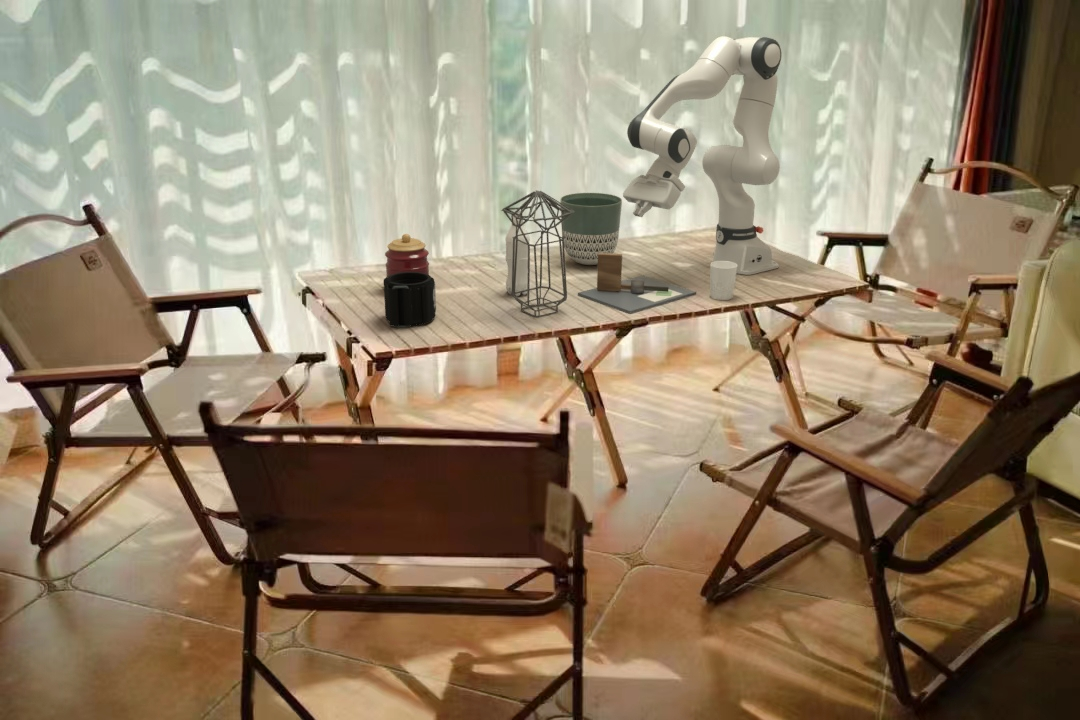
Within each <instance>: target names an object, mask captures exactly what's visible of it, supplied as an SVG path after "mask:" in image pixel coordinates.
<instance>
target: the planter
mask: <svg viewBox="0 0 1080 720" xmlns="http://www.w3.org/2000/svg"><path fill="white" fill-rule="evenodd" d="M560 203H562V204H564V205H565V206H567V207H569V208H570V209H572V210H573V211H574V213H572V214H571V215H570V216H569V217H567V218H566V219H565V220H564V221H562V223H563V234H564V251H565V252H566V254H567V255H568V256H569V258H570V259H571V260H573V261H574V262H576V263H578V264H580V265H584V266H596V265H597V266H598V253H613V254H615V251H616V248H617V245H618V242H619V236H620V235H619V234H620V229H621V228H620V226H621V215H622V203H623V199H622V198H621V197H620V196H617V195H614V194H609V193H603V192H602V193H601V192H577V193H570V194H565V195H564V196H562V197H560ZM562 204H561V205H562ZM562 206H563V205H562ZM565 206H564V207H565ZM565 208H566V207H565ZM562 209H563V208H562ZM567 209H568V208H567ZM570 209H568V210H570ZM567 213H569V212H565V211H564V214H567ZM560 215H562V212H561V211H560ZM560 219H562V217H561V218H560ZM562 223H560V224H561V227H562ZM563 234H562V233H561V237H563Z"/></svg>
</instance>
